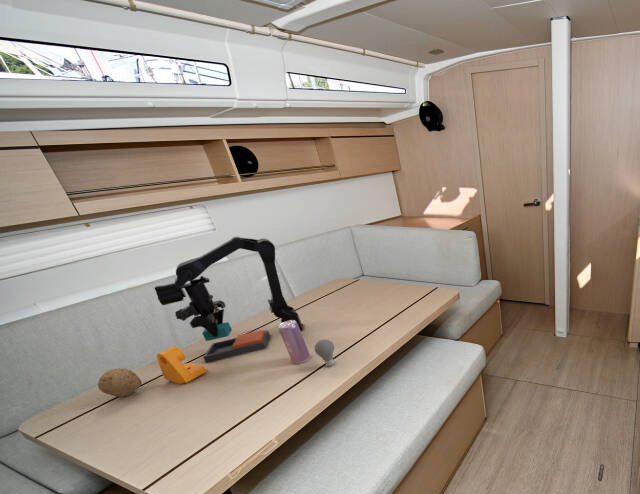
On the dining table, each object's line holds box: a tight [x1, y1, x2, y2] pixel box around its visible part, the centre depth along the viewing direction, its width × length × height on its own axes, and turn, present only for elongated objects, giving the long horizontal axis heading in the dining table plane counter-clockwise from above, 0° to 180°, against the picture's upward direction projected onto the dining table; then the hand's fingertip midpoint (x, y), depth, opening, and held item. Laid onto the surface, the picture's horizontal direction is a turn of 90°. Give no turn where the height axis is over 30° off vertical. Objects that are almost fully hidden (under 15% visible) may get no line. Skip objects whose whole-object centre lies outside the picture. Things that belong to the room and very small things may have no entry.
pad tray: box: [203, 330, 271, 364], centre depth 140 cm, size 20×12×3 cm, turn 115°
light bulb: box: [314, 339, 335, 367], centre depth 122 cm, size 6×6×10 cm
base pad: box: [232, 329, 266, 349], centre depth 141 cm, size 9×9×3 cm
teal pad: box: [202, 321, 233, 342], centre depth 135 cm, size 7×6×4 cm
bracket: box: [156, 346, 208, 385], centre depth 122 cm, size 11×7×12 cm, turn 73°
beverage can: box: [277, 320, 311, 364], centre depth 126 cm, size 6×6×15 cm
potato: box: [97, 367, 142, 398], centre depth 115 cm, size 9×9×10 cm
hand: (218, 333), depth 136 cm, fingers closed on teal pad, 6 cm apart
